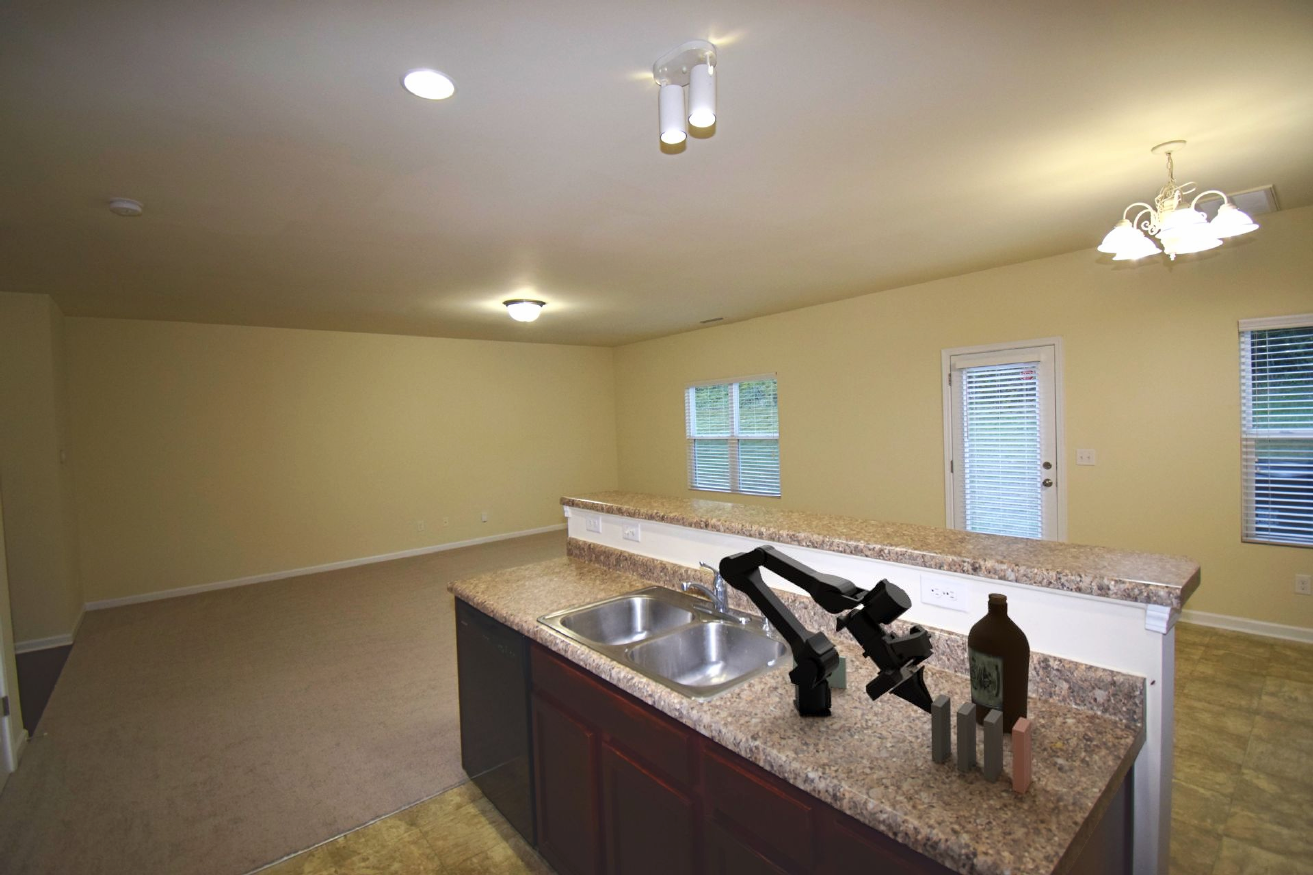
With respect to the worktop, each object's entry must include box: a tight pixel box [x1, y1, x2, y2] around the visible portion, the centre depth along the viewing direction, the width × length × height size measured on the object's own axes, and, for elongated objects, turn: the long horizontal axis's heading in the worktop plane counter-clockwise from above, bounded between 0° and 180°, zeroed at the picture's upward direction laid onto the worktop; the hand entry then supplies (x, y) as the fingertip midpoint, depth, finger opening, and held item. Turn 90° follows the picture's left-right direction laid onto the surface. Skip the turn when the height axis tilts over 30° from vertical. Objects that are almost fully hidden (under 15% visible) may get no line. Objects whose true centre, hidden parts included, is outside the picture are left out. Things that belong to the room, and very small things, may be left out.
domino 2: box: [956, 701, 977, 774], centre depth 102 cm, size 2×5×10 cm, turn 136°
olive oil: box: [967, 592, 1031, 734], centre depth 116 cm, size 11×11×25 cm
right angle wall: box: [792, 655, 848, 690], centre depth 139 cm, size 12×12×8 cm
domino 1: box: [930, 693, 952, 765], centre depth 104 cm, size 2×5×10 cm, turn 136°
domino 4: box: [1011, 717, 1033, 795], centre depth 96 cm, size 2×5×10 cm, turn 136°
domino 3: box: [983, 709, 1004, 784], centre depth 99 cm, size 2×5×10 cm, turn 136°
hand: (934, 713), depth 105 cm, fingers closed, pressing on domino 1
